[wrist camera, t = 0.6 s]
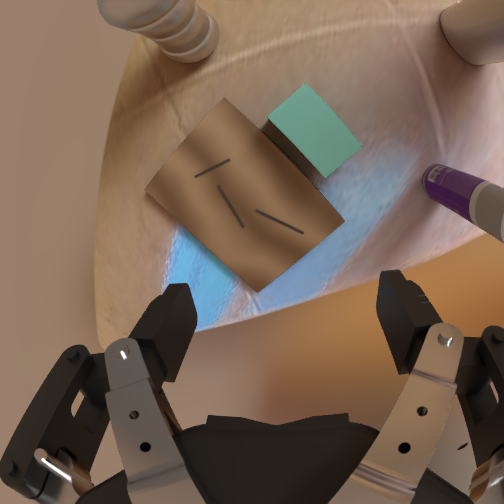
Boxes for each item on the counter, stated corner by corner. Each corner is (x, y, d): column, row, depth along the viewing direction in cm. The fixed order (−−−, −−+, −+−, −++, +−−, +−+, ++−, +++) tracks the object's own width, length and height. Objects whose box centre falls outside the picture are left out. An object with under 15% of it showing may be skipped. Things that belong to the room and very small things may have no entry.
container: (423, 201, 29) (496, 251, 15) (421, 165, 27) (502, 197, 14) (450, 197, 28) (525, 242, 15) (449, 162, 26) (530, 193, 13)
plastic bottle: (165, 67, 25) (43, 23, 7) (174, 20, 22) (76, -54, 4) (219, 67, 25) (134, -9, 7) (227, 18, 22) (167, -85, 4)
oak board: (226, 99, 27) (223, 97, 25) (342, 217, 31) (345, 221, 30) (149, 186, 32) (143, 189, 30) (258, 286, 36) (257, 293, 35)
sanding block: (301, 90, 26) (305, 82, 21) (349, 143, 28) (362, 146, 23) (268, 119, 27) (267, 116, 23) (318, 171, 29) (325, 178, 25)
